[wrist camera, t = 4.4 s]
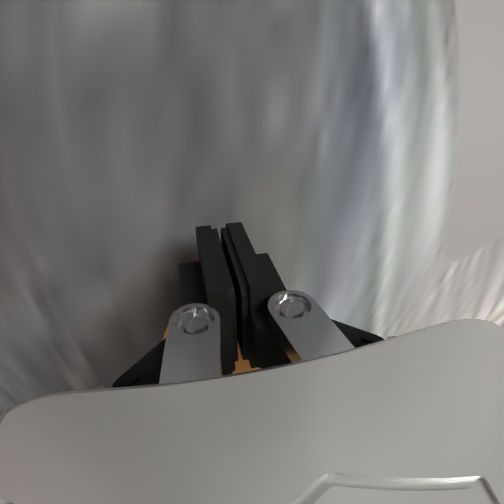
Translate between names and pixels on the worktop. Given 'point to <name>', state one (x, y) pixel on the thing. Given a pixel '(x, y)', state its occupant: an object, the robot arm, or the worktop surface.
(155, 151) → the worktop surface
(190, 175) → the worktop surface
